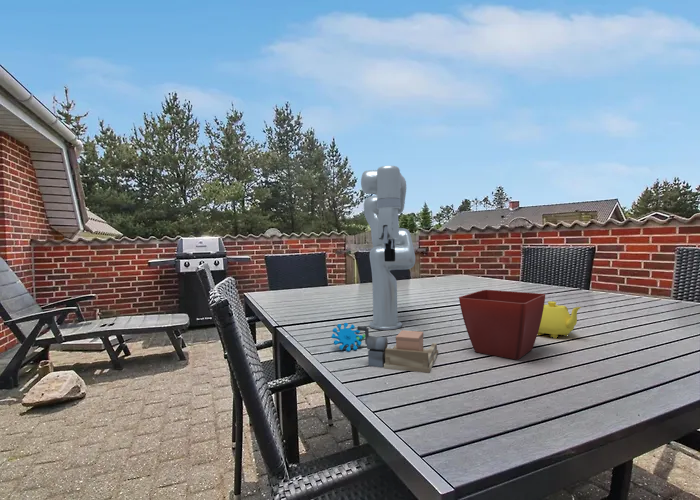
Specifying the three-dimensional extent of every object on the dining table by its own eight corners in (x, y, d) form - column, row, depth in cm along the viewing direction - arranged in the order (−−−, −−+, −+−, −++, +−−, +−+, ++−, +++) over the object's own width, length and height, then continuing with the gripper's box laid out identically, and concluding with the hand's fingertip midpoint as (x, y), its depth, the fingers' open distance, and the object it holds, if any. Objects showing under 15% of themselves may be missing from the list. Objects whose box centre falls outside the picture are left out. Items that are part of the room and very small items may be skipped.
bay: (373, 347, 119) (373, 315, 119) (438, 353, 112) (437, 319, 112) (355, 365, 103) (354, 328, 103) (429, 372, 96) (428, 333, 96)
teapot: (596, 338, 125) (596, 303, 124) (568, 344, 118) (568, 308, 118) (541, 325, 142) (541, 295, 142) (514, 331, 136) (514, 299, 135)
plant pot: (458, 352, 112) (457, 296, 112) (485, 339, 126) (484, 289, 126) (525, 366, 99) (524, 303, 99) (547, 349, 113) (546, 294, 113)
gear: (333, 348, 114) (331, 320, 121) (329, 358, 118) (327, 330, 125) (368, 350, 116) (364, 322, 123) (362, 359, 120) (359, 332, 127)
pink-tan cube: (402, 354, 108) (401, 330, 108) (423, 356, 106) (423, 331, 106) (396, 362, 101) (395, 336, 101) (419, 364, 99) (418, 338, 99)
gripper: (383, 207, 131) (384, 259, 131) (370, 203, 117) (372, 263, 117) (405, 205, 128) (406, 259, 129) (394, 202, 114) (395, 263, 115)
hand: (389, 261), depth 123 cm, fingers closed
